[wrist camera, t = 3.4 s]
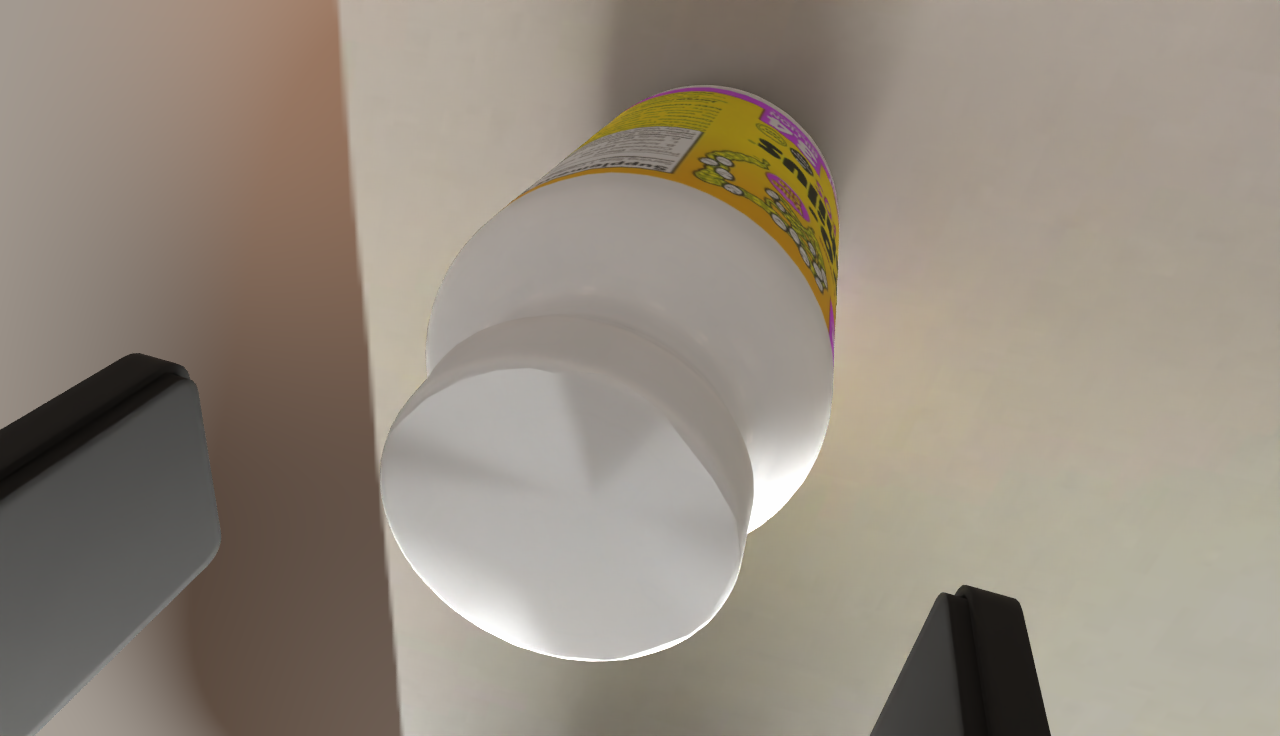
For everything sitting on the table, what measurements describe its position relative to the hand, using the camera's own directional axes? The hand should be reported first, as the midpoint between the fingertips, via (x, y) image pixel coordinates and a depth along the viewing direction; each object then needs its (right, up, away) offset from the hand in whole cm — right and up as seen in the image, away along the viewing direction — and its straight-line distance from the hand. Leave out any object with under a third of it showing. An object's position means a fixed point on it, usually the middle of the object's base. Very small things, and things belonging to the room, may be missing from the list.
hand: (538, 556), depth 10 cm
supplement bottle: (+3, +6, +11) cm, 13 cm away
